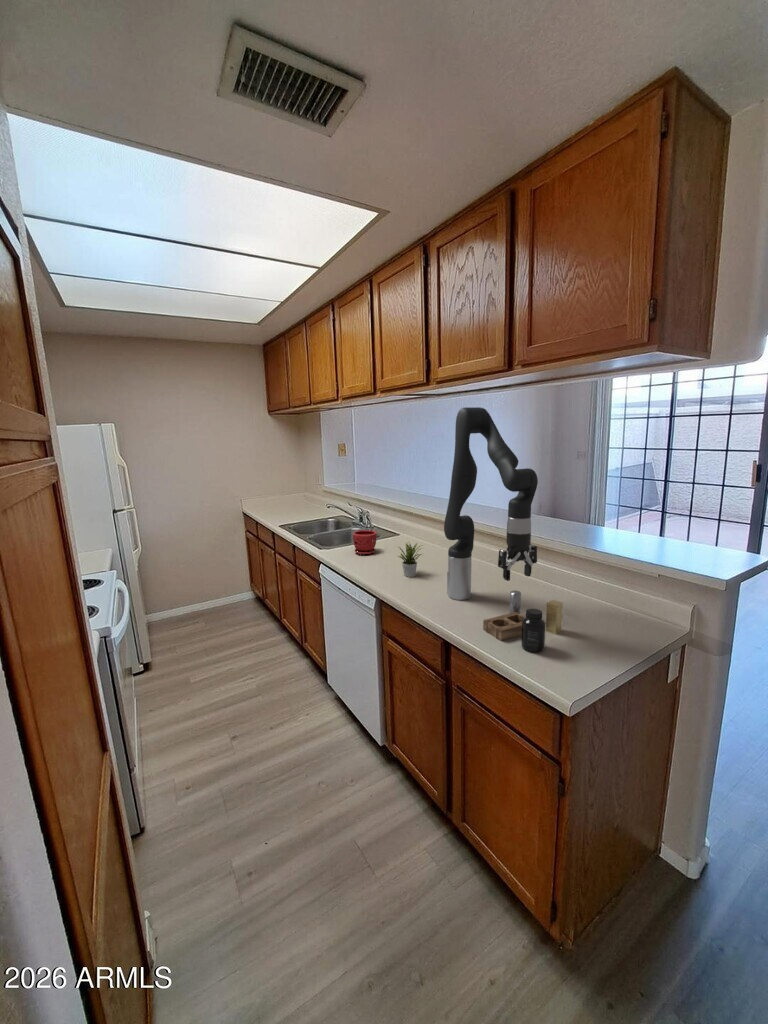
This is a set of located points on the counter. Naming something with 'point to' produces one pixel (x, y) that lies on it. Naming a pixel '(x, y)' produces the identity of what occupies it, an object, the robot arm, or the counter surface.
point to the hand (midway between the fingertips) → (517, 577)
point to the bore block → (504, 626)
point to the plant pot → (362, 545)
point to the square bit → (554, 616)
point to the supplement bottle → (533, 631)
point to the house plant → (409, 560)
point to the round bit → (515, 601)
